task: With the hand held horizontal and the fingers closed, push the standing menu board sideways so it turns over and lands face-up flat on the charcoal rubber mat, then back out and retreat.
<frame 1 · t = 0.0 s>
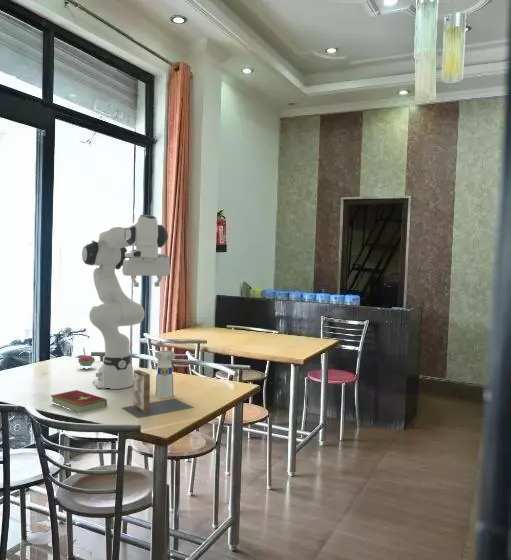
hand: (146, 286, 202), 48 cm above the table, tool pointing down, fingers open, 8 cm apart
mat: (157, 408, 193), on the table
hardcover book: (78, 407, 195), on the table
menu board: (141, 410, 188), resting on mat
water bottle: (165, 396, 211), on the table
cupcake: (86, 368, 265), on the table
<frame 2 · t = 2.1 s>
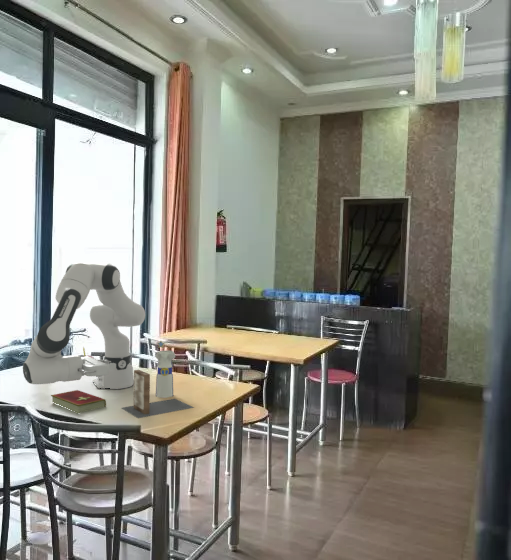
hand: (111, 363, 180), 20 cm above the table, tool horizontal, fingers open, 6 cm apart
nothing on the table moved.
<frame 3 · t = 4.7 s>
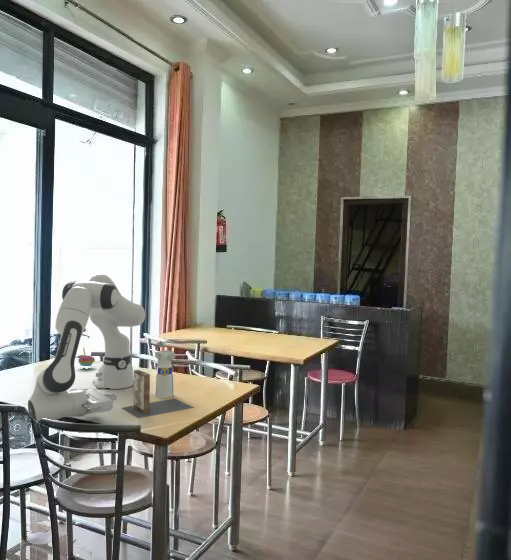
hand: (115, 396, 182), 7 cm above the table, tool horizontal, fingers closed
nothing on the table moved.
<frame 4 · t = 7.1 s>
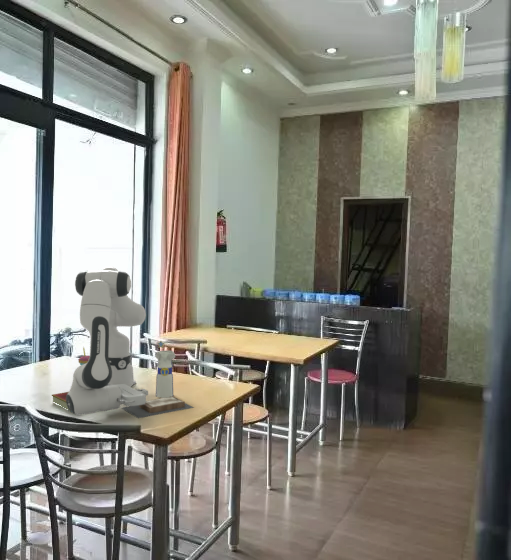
hand: (146, 391, 189), 7 cm above the table, tool horizontal, fingers closed
menu board: (144, 407, 189), point 1 cm above the table, tilted 90°, touching mat
everything else where it was.
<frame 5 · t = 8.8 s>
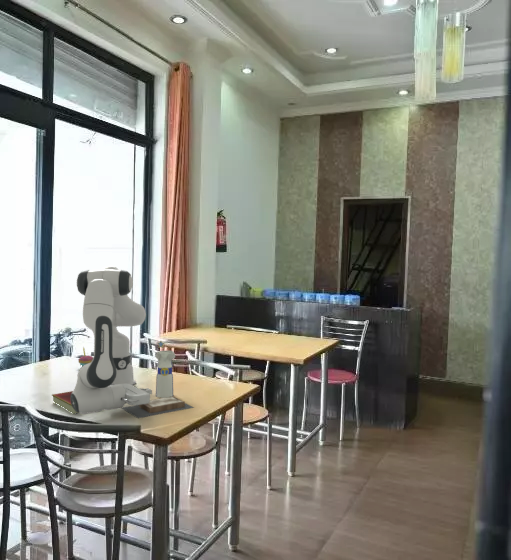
hand: (150, 391, 190), 8 cm above the table, tool horizontal, fingers closed
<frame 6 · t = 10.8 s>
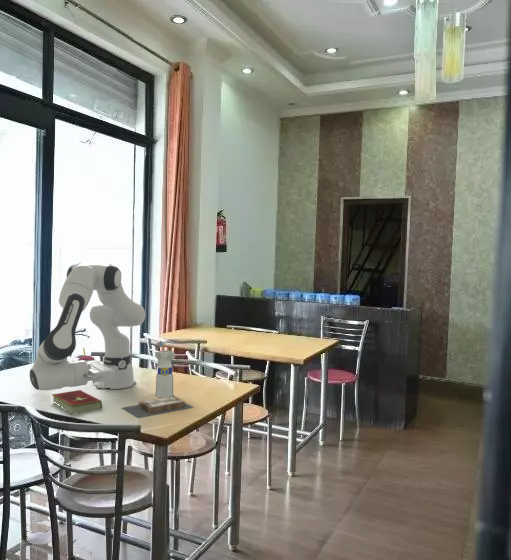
hand: (117, 368, 182), 18 cm above the table, tool horizontal, fingers closed
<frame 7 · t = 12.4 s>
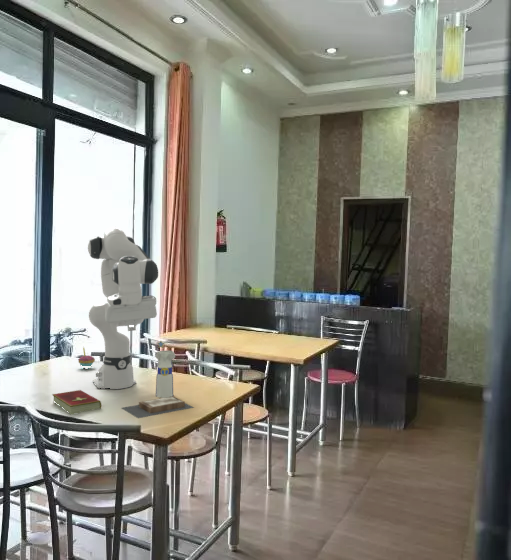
hand: (131, 330, 196), 30 cm above the table, tool pointing down, fingers closed
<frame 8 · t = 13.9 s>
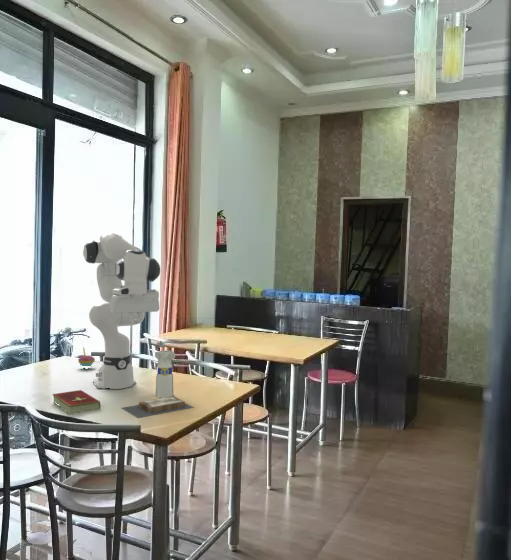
hand: (135, 323, 197), 33 cm above the table, tool pointing down, fingers closed
at the end: menu board tilted 90°; menu board inside the target area on the mat (5.7 cm from its centre), point 1.4 cm above the mat's base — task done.
